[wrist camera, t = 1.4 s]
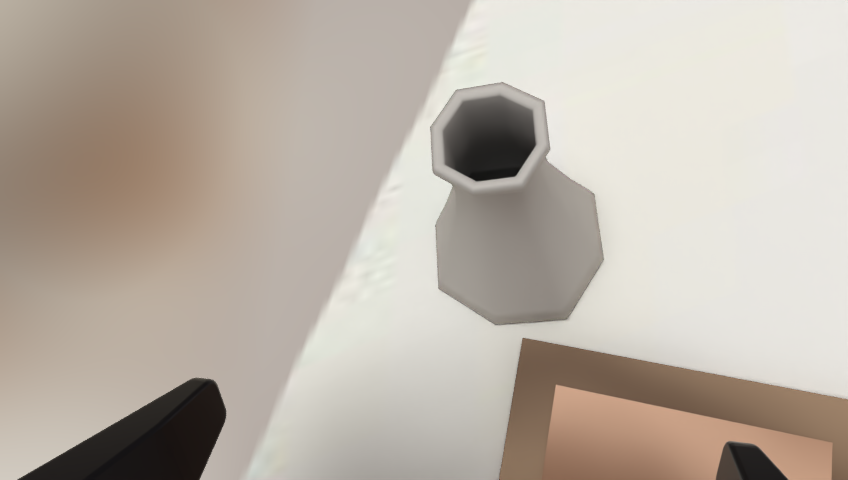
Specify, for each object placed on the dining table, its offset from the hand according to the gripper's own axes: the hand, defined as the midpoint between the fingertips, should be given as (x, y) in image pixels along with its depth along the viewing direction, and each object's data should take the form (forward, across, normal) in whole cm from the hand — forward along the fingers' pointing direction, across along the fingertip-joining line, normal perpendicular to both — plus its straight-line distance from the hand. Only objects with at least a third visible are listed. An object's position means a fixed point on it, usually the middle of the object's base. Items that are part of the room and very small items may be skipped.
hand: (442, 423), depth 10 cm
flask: (+14, 0, +4) cm, 15 cm away
